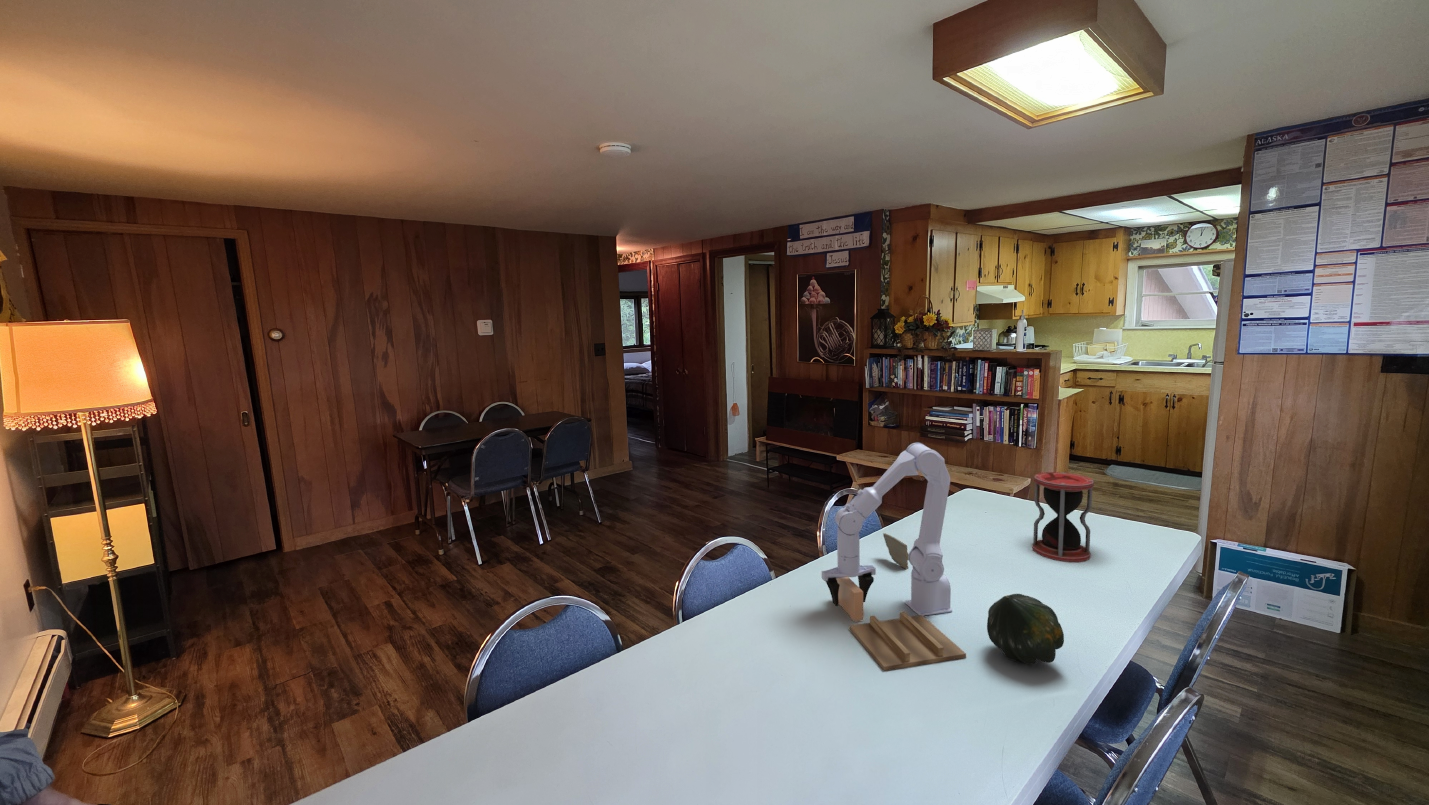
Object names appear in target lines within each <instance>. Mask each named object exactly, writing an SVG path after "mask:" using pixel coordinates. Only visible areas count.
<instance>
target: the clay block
mask: <svg viewBox="0 0 1429 805" xmlns="http://www.w3.org/2000/svg"><path fill="white" fill-rule="evenodd" d="M836 580H837V582H838V584H839V585H840V586H839V592H838V601H839V603H838V605H840V607H841V606H842V607H843V608H842V607H841V608H842V609H843V611H844V612H845V613H846V614H847V613H848V614H849V615H850V616H849V615H848V614H847V615H848V616H849V618H851V620H852V619H853V620H854V621H856V622H861V621H860V620H863V621H864V602H863V591H862V590H861V589H860V588H859V585H857V584H856V583H855V582H854V581H853V580H852V579H851V577H844V578H836ZM853 620H852V621H853ZM854 621H853V622H854Z"/></svg>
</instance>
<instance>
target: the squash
mask: <svg viewBox="0 0 1429 805" xmlns="http://www.w3.org/2000/svg"><path fill="white" fill-rule="evenodd" d="M986 631H987V635H988V638H989V640H990V641H991V642H992V643H993V645H994V646H995V647H996V648H998V649H999V650H1001V651H1002V653H1003V655H1004V657H1006V658H1007V659H1009V660H1012V661H1013V662H1015V663H1016V662H1017V663H1018V662H1022V663H1024V664H1026V665H1033V664H1034V663H1036V661H1037V660H1038V661H1040V662H1043V663H1045V664H1049V663H1053V662H1054V661H1055V659H1056V652H1057V651H1056V650H1058V649H1061V648H1062V647H1063V646H1064V644H1065V635H1064V630H1063V627H1062V625H1061V623H1060V622H1059V619H1058V616H1057V614H1056V612H1055V611H1054V609H1052V607H1051V606H1048V605H1047V604H1045V603H1044V602H1042V601H1041V600H1039V599H1037V598H1035V597H1032V596H1029V595H1025V594H1022V593H1013V594H1008V595H1004V596H1002V597H1001V598H1000V599H998V600H996V601H995V602H993V603H992V605H990V607H989V609H988V611H987V621H986Z"/></svg>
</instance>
